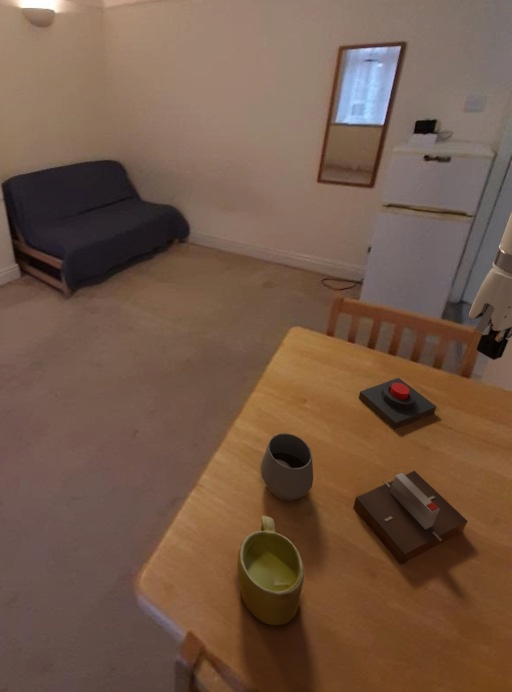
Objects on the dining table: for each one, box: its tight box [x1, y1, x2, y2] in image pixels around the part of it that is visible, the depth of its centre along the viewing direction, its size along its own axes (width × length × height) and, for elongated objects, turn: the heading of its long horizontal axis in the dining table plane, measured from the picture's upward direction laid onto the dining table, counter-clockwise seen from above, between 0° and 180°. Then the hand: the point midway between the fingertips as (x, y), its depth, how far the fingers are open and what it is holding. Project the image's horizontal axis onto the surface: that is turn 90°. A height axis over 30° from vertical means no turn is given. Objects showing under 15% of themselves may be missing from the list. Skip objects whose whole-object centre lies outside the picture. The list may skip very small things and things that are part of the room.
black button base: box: [358, 377, 437, 431], centre depth 93 cm, size 12×10×4 cm
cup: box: [260, 432, 314, 502], centre depth 75 cm, size 10×9×10 cm
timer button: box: [390, 383, 410, 400], centre depth 92 cm, size 4×4×2 cm
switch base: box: [353, 470, 468, 566], centre depth 70 cm, size 14×11×3 cm
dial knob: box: [390, 472, 439, 530], centre depth 69 cm, size 7×2×5 cm, turn 20°
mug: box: [237, 515, 305, 626], centre depth 62 cm, size 12×10×10 cm
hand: (488, 353), depth 72 cm, fingers closed
